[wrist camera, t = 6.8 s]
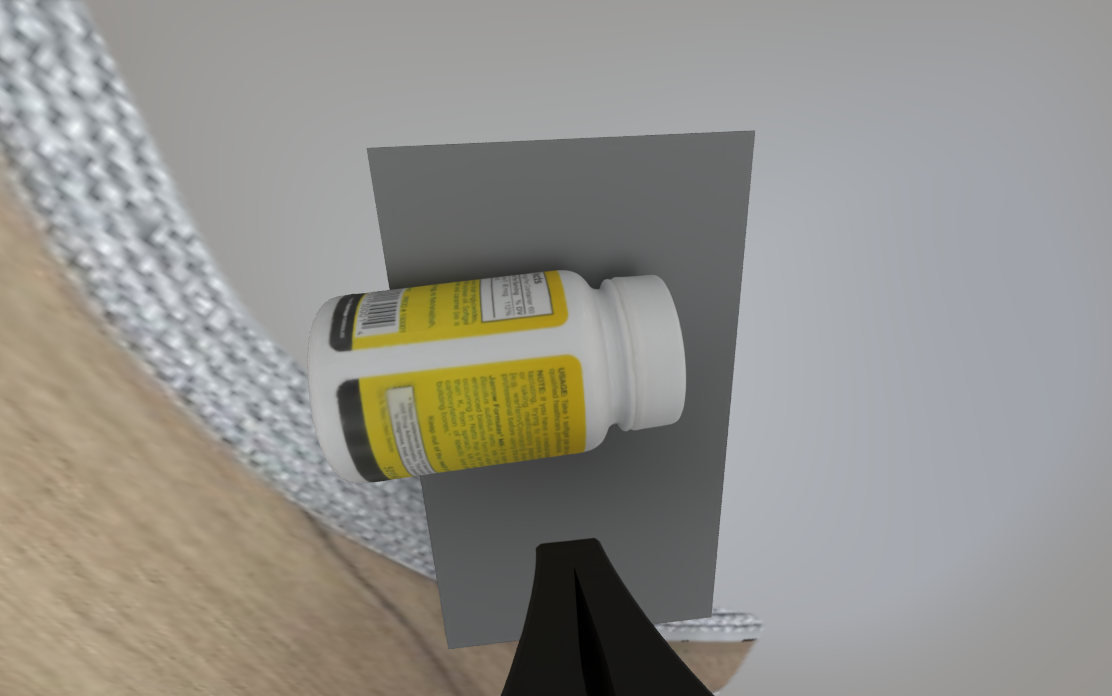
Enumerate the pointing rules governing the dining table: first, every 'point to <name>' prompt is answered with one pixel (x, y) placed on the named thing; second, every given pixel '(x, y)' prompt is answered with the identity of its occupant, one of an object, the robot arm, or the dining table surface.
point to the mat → (595, 254)
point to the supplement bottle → (490, 371)
